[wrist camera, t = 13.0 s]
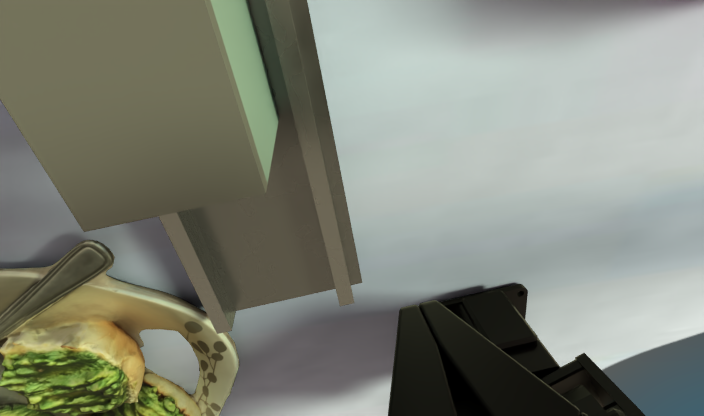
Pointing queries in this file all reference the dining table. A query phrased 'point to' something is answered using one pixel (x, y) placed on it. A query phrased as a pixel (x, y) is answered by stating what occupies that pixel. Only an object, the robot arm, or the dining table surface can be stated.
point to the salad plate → (100, 344)
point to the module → (139, 102)
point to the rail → (277, 194)
